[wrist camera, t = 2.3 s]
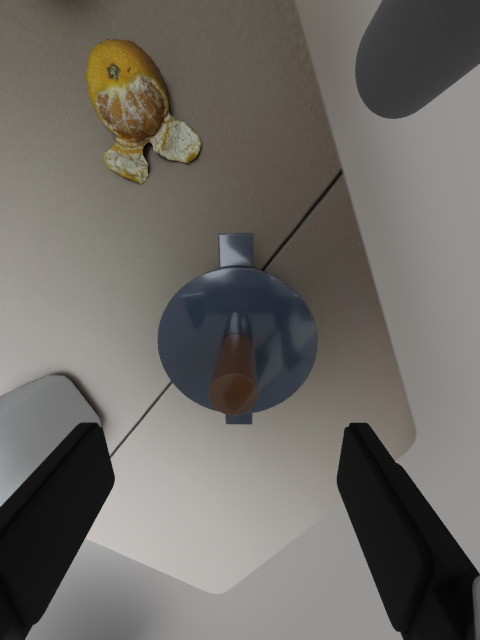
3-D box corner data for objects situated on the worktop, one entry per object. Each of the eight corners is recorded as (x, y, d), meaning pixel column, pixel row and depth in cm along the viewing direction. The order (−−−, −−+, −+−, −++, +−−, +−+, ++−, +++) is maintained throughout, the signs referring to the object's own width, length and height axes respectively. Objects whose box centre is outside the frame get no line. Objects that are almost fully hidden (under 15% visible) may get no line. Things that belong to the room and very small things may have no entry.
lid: (320, 265, 16) (368, 278, 10) (307, 405, 20) (335, 479, 14) (152, 267, 16) (95, 281, 10) (171, 405, 20) (137, 477, 14)
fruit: (122, 190, 21) (98, 179, 17) (75, 81, 18) (36, 43, 15) (206, 157, 20) (197, 139, 16) (168, 37, 18) (149, -15, 14)
